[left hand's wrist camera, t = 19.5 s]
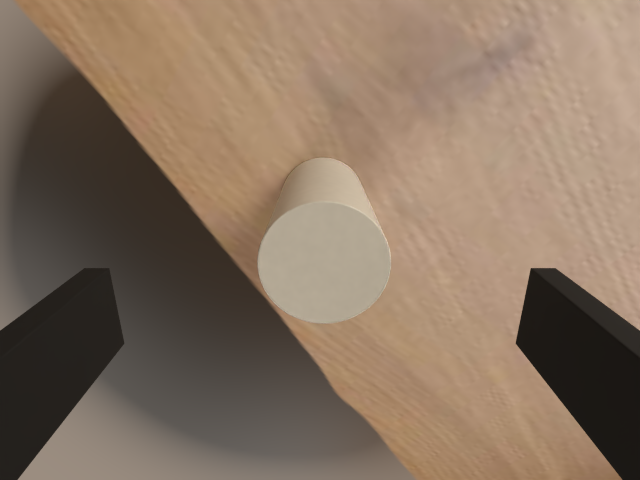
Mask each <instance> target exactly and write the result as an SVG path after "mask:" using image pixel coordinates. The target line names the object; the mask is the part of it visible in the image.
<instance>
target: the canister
mask: <svg viewBox="0 0 640 480" xmlns="http://www.w3.org/2000/svg"><path fill="white" fill-rule="evenodd" d="M257 267H258V274H259V277H260V281H261V283H262V286H263V288H264V290H265V292H266V293H267V295H268V296H269V298H270V299H271V300H272V301H273V302H274V303H275V304H276V305H277V306H278V307H279V308H280V309H282V310H283V311H284V312H286V313H287V314H289V315H291V316H293V317H295V318H297V319H300V320H303V321H307V322H312V323H321V324H327V323H336V322H341V321H345V320H348V319H351V318H353V317H355V316H357V315H359V314H361V313H362V312H364V311H365V310H366V309H368V308H369V307H370V306H371V305H372V304H373V303H374V302H375V301H376V300H377V299H378V298H379V296H380V295H381V293H382V292H383V290H384V288H385V286H386V284H387V282H388V278H389V275H390V269H391V255H390V249H389V246H388V243H387V240H386V238H385V235H384V233H383V231H382V229H381V227H380V224H379V222H378V220H377V218H376V215H375V213H374V211H373V209H372V207H371V204H370V202H369V200H368V198H367V196H366V193H365V191H364V189H363V187H362V184H361V182H360V180H359V178H358V177H357V175H356V174H355V172H354V171H353V170H352V169H351V168H350V167H349V166H347V165H346V164H344V163H343V162H341V161H339V160H336V159H332V158H324V157H321V158H314V159H310V160H307V161H305V162H303V163H301V164H300V165H298V166H297V167H296V168H295V169H293V170H292V172H291V173H290V174H289V176H288V177H287V179H286V181H285V183H284V186H283V188H282V191H281V193H280V196H279V198H278V201H277V203H276V206H275V208H274V211H273V213H272V216H271V218H270V221H269V223H268V226H267V228H266V231H265V234H264V236H263V239H262V241H261V244H260V247H259V251H258V258H257Z"/></svg>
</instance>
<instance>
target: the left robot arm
mask: <svg viewBox="0 0 640 480" xmlns="http://www.w3.org/2000/svg"><path fill="white" fill-rule="evenodd" d="M123 344H124V340H123V335H122V330H121V325H120V320H119V315H118V310H117V305H116V300H115V295H114V290H113V285H112V280H111V275H110V270H109V268H84V269H83V270H82V271H80V272H79V273H78V274H76V275H75V276H73V277H72V278H71V279H69V280H68V281H67V282H65V283H64V284H63V285H61V286H60V287H59V288H57V289H56V290H55V291H53V292H52V293H51V294H49V295H48V296H46V297H45V298H44V299H42V300H41V301H40V302H38V303H37V304H36V305H34V306H33V307H32V308H30V309H29V310H28V311H26V312H25V313H24V314H22V315H21V316H20V317H18V318H17V319H15V320H14V321H13V322H11V323H10V324H9V325H7V326H6V327H5V328H3V329H2V330H1V331H0V480H18V478H19V477H20V476H21V474H22V473H23V472H24V471H25V469H26V468H27V467H28V466H29V464H30V463H31V462H32V460H33V459H34V458H35V457H36V455H37V454H38V453H39V452H40V450H41V449H42V448H43V446H44V445H45V444H46V442H47V441H48V440H49V439H50V437H51V436H52V435H53V434H54V432H55V431H56V430H57V429H58V427H59V426H60V425H61V423H62V422H63V421H64V420H65V418H66V417H67V416H68V414H69V413H70V412H71V411H72V409H73V408H74V407H75V406H76V404H77V403H78V402H79V401H80V399H81V398H82V397H83V395H84V394H85V393H86V392H87V390H88V389H89V388H90V386H91V385H92V384H93V383H94V381H95V380H96V379H97V378H98V376H99V375H100V374H101V372H102V371H103V370H104V369H105V367H106V366H107V365H108V364H109V362H110V361H111V360H112V358H113V357H114V356H115V355H116V353H117V352H118V351H119V349H120V348H121V347H122V346H123ZM516 344H517V346H518V347H519V348H520V349H521V351H522V352H523V353H524V355H525V356H526V357H527V358H528V360H529V361H530V362H531V364H532V365H533V366H534V367H535V369H536V370H537V371H538V372H539V374H540V375H541V376H542V378H543V379H544V380H545V381H546V383H547V384H548V385H549V386H550V388H551V389H552V390H553V392H554V393H555V394H556V395H557V397H558V398H559V399H560V401H561V402H562V403H563V404H564V406H565V407H566V408H567V409H568V411H569V412H570V413H571V415H572V416H573V417H574V418H575V420H576V421H577V422H578V423H579V425H580V426H581V427H582V429H583V430H584V431H585V432H586V434H587V435H588V436H589V437H590V439H591V440H592V441H593V443H594V444H595V445H596V446H597V448H598V449H599V450H600V452H601V453H602V454H603V455H604V457H605V458H606V459H607V460H608V462H609V463H610V464H611V466H612V467H613V468H614V469H615V471H616V472H617V473H618V474H619V476H620V477H621V478H622V480H640V331H639V330H638V329H637V328H635V327H634V326H633V325H631V324H630V323H629V322H627V321H626V320H625V319H623V318H622V317H621V316H619V315H618V314H616V313H615V312H614V311H612V310H611V309H610V308H608V307H607V306H606V305H604V304H603V303H602V302H600V301H599V300H598V299H596V298H595V297H594V296H592V295H591V294H589V293H588V292H587V291H585V290H584V289H583V288H581V287H580V286H579V285H577V284H576V283H575V282H573V281H572V280H571V279H569V278H568V277H567V276H565V275H564V274H562V273H561V272H560V271H558V270H557V269H556V268H531V270H530V275H529V280H528V285H527V290H526V295H525V300H524V305H523V310H522V315H521V320H520V325H519V330H518V335H517V340H516Z"/></svg>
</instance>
